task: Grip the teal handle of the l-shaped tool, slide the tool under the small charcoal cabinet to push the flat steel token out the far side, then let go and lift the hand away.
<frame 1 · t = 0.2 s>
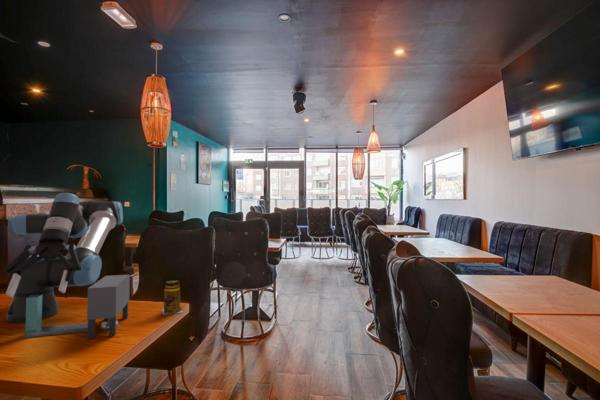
hand: (35, 293, 93), 15 cm above the table, tool tilted 35°, fingers open, 13 cm apart
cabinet: (109, 326, 106), on the table
token: (109, 327, 106), on the table
l-shaped tool: (27, 334, 100), on the table
condiment: (172, 311, 123), on the table
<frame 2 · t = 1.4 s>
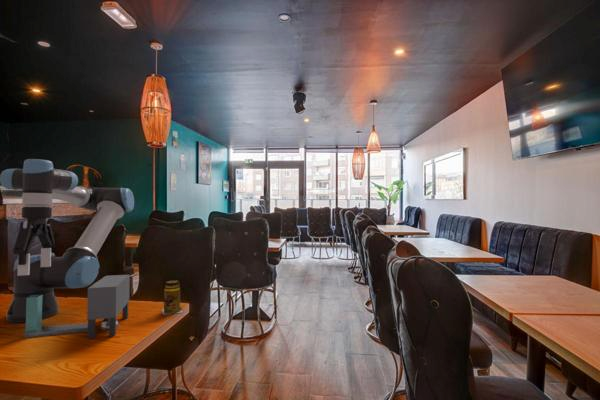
hand: (35, 270, 101), 21 cm above the table, tool pointing down, fingers open, 13 cm apart
nothing on the table moved.
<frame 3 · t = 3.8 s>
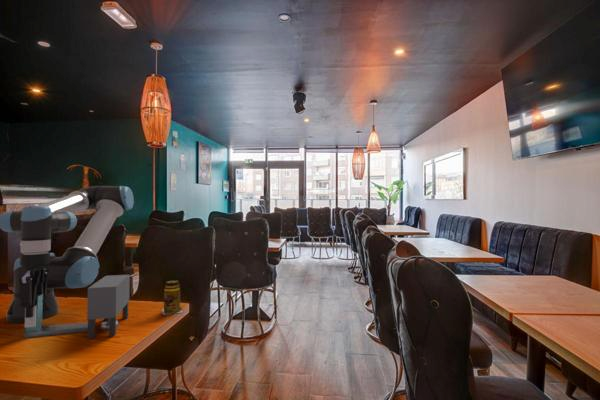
hand: (33, 324, 100), 3 cm above the table, tool pointing down, fingers closed on l-shaped tool, 3 cm apart
l-shaped tool: (28, 334, 100), on the table, touching gripper
everything else where it was.
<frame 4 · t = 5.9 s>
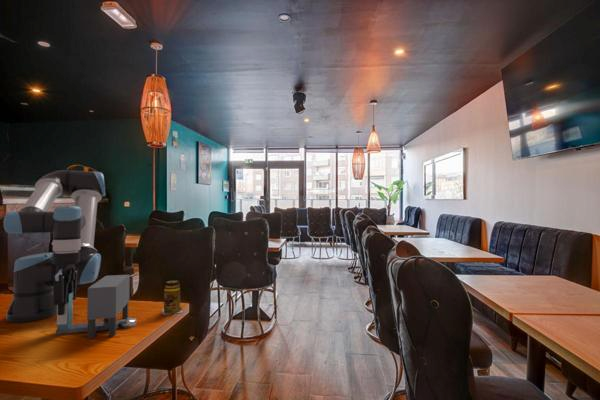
hand: (64, 321, 102), 3 cm above the table, tool pointing down, fingers closed on l-shaped tool, 3 cm apart
token: (128, 325, 108), on the table, touching l-shaped tool
l-shaped tool: (59, 331, 102), on the table, touching gripper, token
everything else where it was.
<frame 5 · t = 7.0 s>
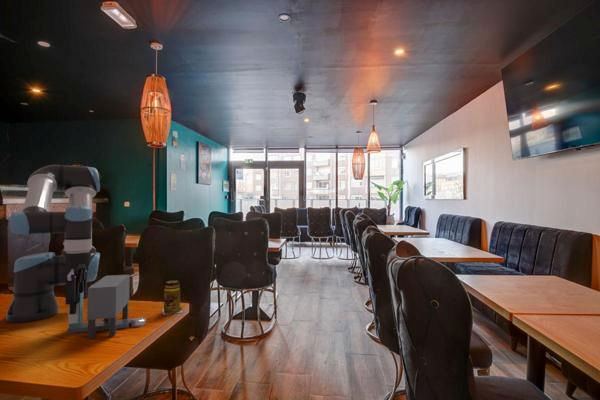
hand: (75, 320, 103), 3 cm above the table, tool pointing down, fingers closed on l-shaped tool, 3 cm apart
token: (138, 325, 109), on the table, touching l-shaped tool
l-shaped tool: (70, 330, 103), on the table, touching gripper, token
everything else where it was.
when the fingers open (3 cm above the table, at t = 7.7 s): l-shaped tool stays where it is, on the table.
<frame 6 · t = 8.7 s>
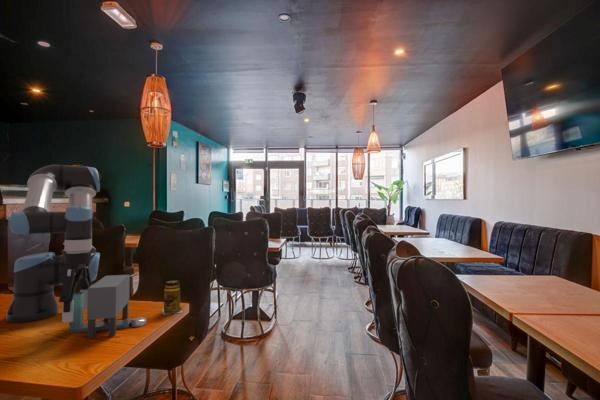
hand: (76, 314, 104), 5 cm above the table, tool pointing down, fingers open, 13 cm apart
token: (138, 324, 109), on the table
l-shaped tool: (71, 331, 103), on the table
everything else where it was.
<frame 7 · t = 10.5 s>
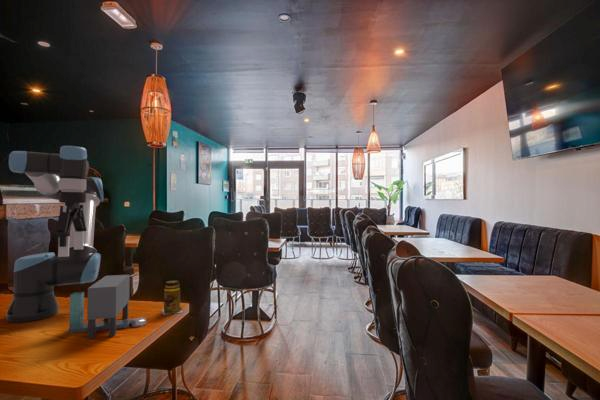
hand: (71, 252, 106), 26 cm above the table, tool pointing down, fingers open, 13 cm apart
nothing on the table moved.
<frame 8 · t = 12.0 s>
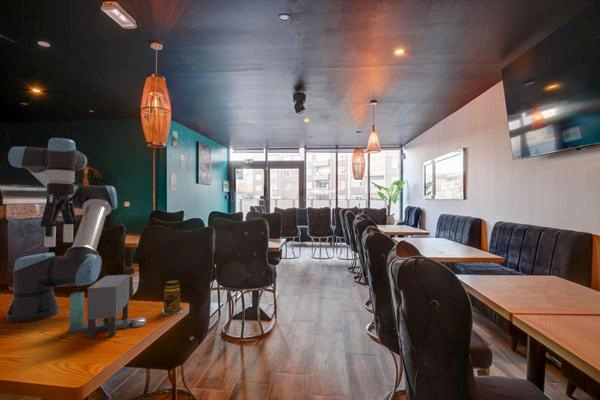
hand: (59, 244, 106), 29 cm above the table, tool pointing down, fingers open, 13 cm apart
nothing on the table moved.
at the end: token inside the target area (2.7 cm from its centre), on the table; the gripper is holding nothing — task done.
